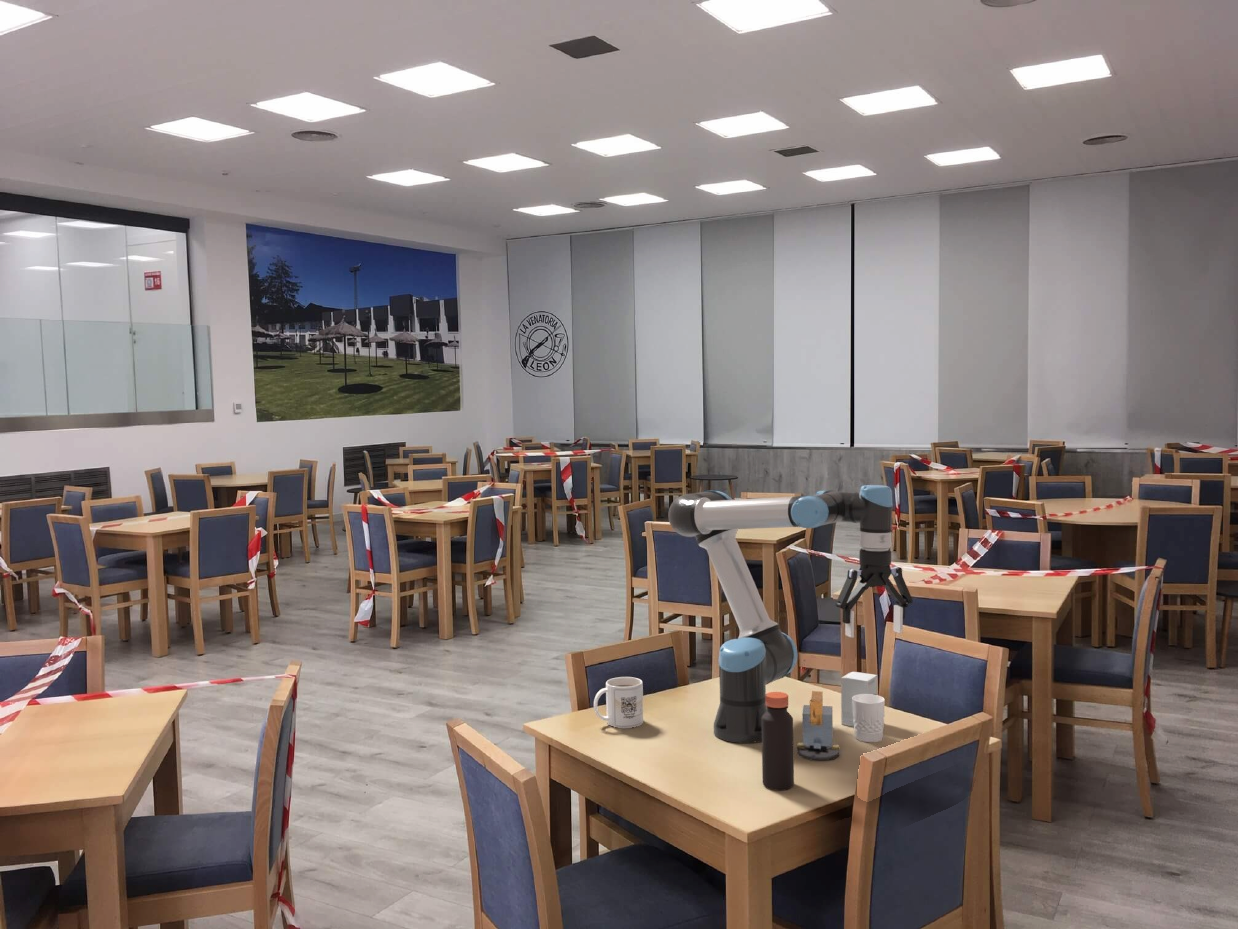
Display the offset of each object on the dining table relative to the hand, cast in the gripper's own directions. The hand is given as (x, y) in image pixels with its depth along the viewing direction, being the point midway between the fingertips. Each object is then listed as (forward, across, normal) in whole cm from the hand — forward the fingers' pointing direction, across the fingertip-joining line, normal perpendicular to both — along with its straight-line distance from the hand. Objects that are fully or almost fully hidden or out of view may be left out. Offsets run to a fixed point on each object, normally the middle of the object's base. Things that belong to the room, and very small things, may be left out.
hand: (873, 634), depth 228 cm
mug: (+29, -54, +36) cm, 71 cm away
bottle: (+27, -34, -17) cm, 47 cm away
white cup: (+27, 0, +2) cm, 27 cm away
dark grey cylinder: (+27, -17, -3) cm, 32 cm away
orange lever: (+24, -18, -6) cm, 31 cm away
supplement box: (+27, +4, +12) cm, 30 cm away
